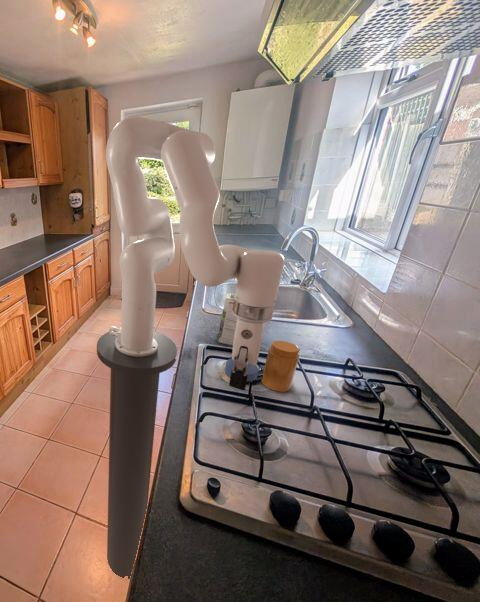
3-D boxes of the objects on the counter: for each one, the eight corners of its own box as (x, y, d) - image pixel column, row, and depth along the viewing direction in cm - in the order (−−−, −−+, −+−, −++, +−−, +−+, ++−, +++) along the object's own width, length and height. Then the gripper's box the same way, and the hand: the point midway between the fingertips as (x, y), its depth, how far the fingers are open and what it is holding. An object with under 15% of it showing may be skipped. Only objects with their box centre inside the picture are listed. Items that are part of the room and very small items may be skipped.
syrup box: (219, 334, 97) (226, 292, 91) (239, 338, 94) (248, 295, 88) (216, 342, 92) (224, 298, 87) (238, 347, 89) (247, 302, 84)
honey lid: (259, 370, 70) (260, 363, 70) (255, 385, 65) (256, 378, 65) (227, 361, 74) (229, 355, 73) (222, 375, 69) (223, 368, 68)
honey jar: (260, 386, 72) (270, 348, 68) (261, 373, 77) (270, 337, 73) (290, 394, 69) (302, 355, 65) (289, 381, 74) (300, 343, 70)
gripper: (270, 329, 55) (253, 406, 62) (275, 299, 69) (260, 365, 75) (226, 320, 59) (214, 394, 66) (238, 293, 73) (228, 357, 79)
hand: (239, 378), depth 70 cm, fingers closed on honey lid, 6 cm apart
